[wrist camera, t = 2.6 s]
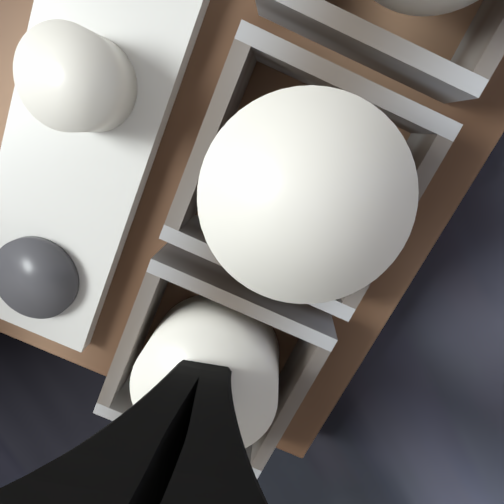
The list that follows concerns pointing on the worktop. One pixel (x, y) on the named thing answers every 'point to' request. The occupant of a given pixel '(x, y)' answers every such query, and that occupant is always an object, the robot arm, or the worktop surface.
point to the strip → (83, 151)
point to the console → (226, 106)
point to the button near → (425, 6)
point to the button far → (216, 358)
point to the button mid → (307, 194)
